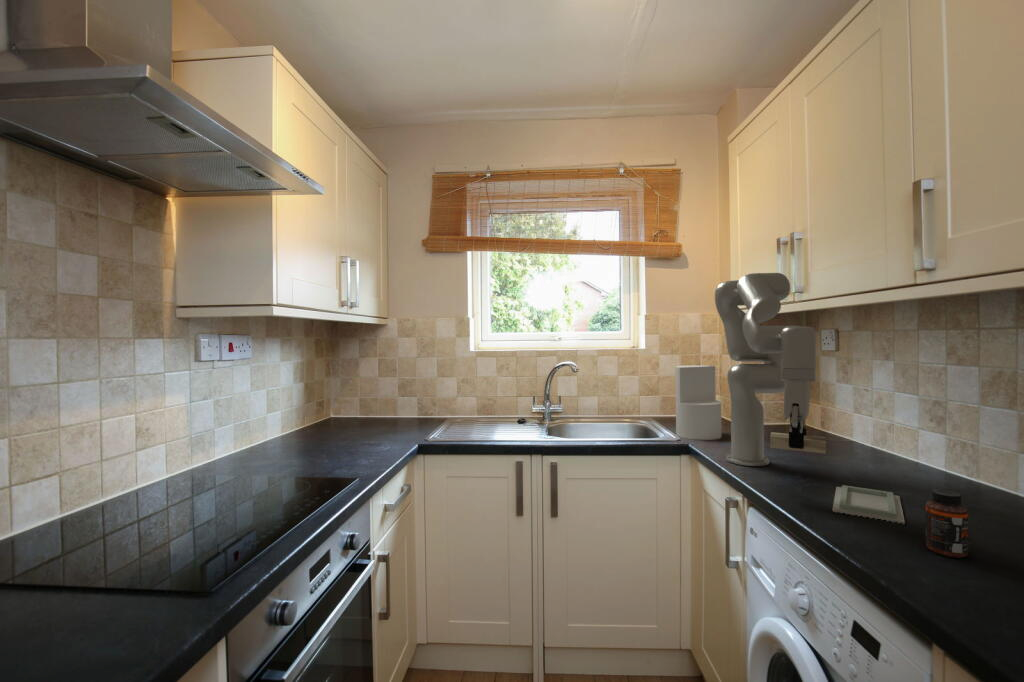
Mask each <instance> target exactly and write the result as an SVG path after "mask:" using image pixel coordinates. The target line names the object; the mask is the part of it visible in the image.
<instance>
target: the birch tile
mask: <svg viewBox="0 0 1024 682" xmlns="http://www.w3.org/2000/svg"><path fill="white" fill-rule="evenodd" d="M769 439H770V440H769V441H770V442H769V444H770V445H769V447H770V449H771V448H772V449H778V450H779V449H780V450H786V451H787V450H789V451H798V452H805V453H806V452H807V453H818V454H825V455H826V454H827V441H826V437H825V436H818V435H808V434H806V435H804V448H803V449H798V448H790V447H789V433H786V432H785V433H783V432H772V431H771V432H770V437H769Z"/></svg>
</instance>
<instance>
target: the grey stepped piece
mask: <svg viewBox="0 0 1024 682" xmlns="http://www.w3.org/2000/svg"><path fill="white" fill-rule="evenodd" d="M716 393H717V392H716V365H699V364H697V365H676V366H675V433H676V434H675V435H676V436H678V437H680V438H683V439H689V440H697V441H698V440H699V441H713V440H719V439H721V438H722V402H721V401H720V400H717V398H716Z"/></svg>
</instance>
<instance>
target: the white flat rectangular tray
mask: <svg viewBox="0 0 1024 682" xmlns="http://www.w3.org/2000/svg"><path fill="white" fill-rule="evenodd" d="M832 511H833V513H838V512H839V514H843V513H845V515H849V514H850V516H855V515H857V516H856V517H860V516H863V517H862V518H866V517H869V518H868V519H872V518H875V519H874V520H877V519H881V520H880V521H883V520H886V521H885V522H889V521H891V522H890V523H895V522H897V523H896V524H900V523H902V524H901V525H905V523H906V521H905V518H904V517H905V516H904V513H903V512H904V511H903V508H902V503H901V497H900V495H894V492H891V491H885V490H880V489H879V490H878V489H872V488H865V487H864V488H863V487H858V486H852V485H851V486H850V485H846V484H845V485H844V484H842V485H841V486H836V487H835V494H834V498H833V505H832Z"/></svg>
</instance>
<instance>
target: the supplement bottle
mask: <svg viewBox="0 0 1024 682" xmlns="http://www.w3.org/2000/svg"><path fill="white" fill-rule="evenodd" d="M931 495H932V496H931V497H932V499H930V500H927V501H926V503H925V546H926V548H928V550H929V551H931V552H933V553H935V554H938V555H941V556H945V557H949V558H958V559H959V558H960V559H961V558H962V559H963V558H966V557H967V556H968V554H969V510H968V509H967V507H966V506H964V505H963V504H962V495H961V494H960V493H959V492H956V491H953V490H952V491H951V490H946V489H939V488H938V489H932V494H931Z"/></svg>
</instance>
